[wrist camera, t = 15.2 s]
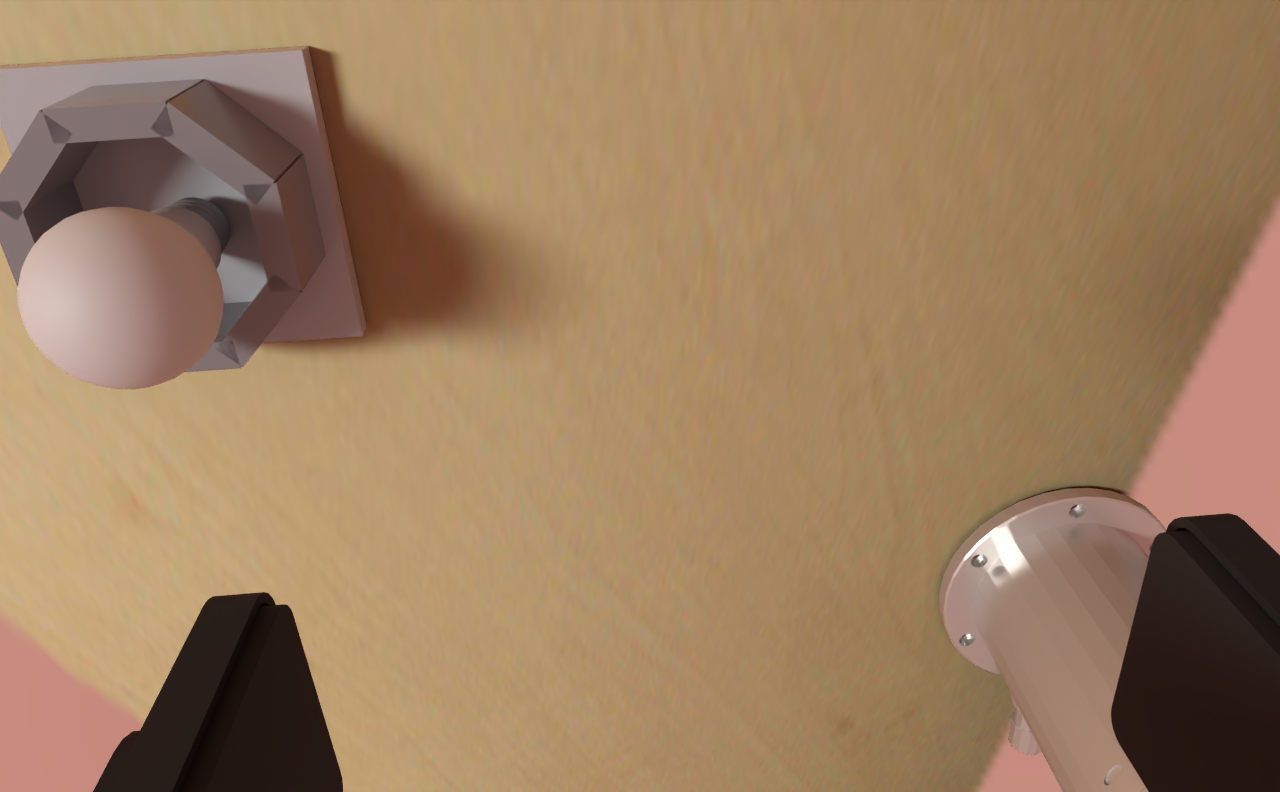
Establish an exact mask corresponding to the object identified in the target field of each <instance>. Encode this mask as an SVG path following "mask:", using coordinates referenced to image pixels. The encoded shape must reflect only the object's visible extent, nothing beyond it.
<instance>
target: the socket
mask: <svg viewBox="0 0 1280 792" xmlns="http://www.w3.org/2000/svg"><path fill="white" fill-rule="evenodd" d="M0 125H1V128H2V131H3V133H4V136H5V139H6V142H7V144H8V147H9V150H10V152H11V155H12V156H11V158H10V159H9V161H8V163H7V164H6V166H5V168H4V169H3V171H2V172H1V174H0V243H1V246H2V248H3V251H4V253H5V256H6V259H7V261H8V264H9V266H10V269H11V271H12V274H13V276H14V279H15V281H16V284H17V287H18V284H19V278H20V273H21V269H22V266H23V264H24V262H25V260H26V257H27V255H28V253H29V252H30V250H31V249H32V247H33V246H34V244H35V243H36V242H37V241H38V240H39V238H40V237H41V236H42V235H43V234H44V233H45V232H46V231H48V230H49V229H51V228H52V227H53V226H55V225H56V224H58V223H59V222H61V221H62V220H63V219H65V218H67V217H70V216H72V215H75V214H77V213H80V212H83V211H88V210H93V209H99V208H104V207H129V208H134V209H139V210H144V211H148V212H151V211H153V210H155V209H158V208H162V207H168V206H169V205H171V204H172V203H174V202H176V201H178V200H180V199H183V198H188V197H196V198H201V199H204V200H206V201H209V202H210V203H212V204H214V205H215V206H216V207H218V208H219V209H220V210H221V212H222V213H223V214H224V215H225V217H226V219H227V221H228V223H229V227H230V238H229V242H228V243H227V245H226V247H225V249H224V251H223V252H222V254H221V260H220V264H219V266H218V268H217V272H218V275H219V278H220V280H221V284H222V289H223V295H224V305H223V315H222V320H221V324H220V327H219V331H218V335H217V336H216V338H215V340H214V342H213V343H212V345H211V347H210V348H209V350H208V351H207V352H206V354H205V355H204V356H203V357H202V358H201V359H200V360H199V361H198V362H197V363H196V364H195V365H194V366H193V367H191V368H190V369H188V370H186V371H185V372H195V371H209V370H222V369H236V368H241V367H243V366H244V365H245V364H246V363H247V361H248V360H249V359H250V358H251V356H252V355H253V354H254V352H255V351H256V350H257V349H258V347H259V346H260V345H261V344H262V343H276V342H290V341H304V340H318V339H332V338H346V337H359V336H363V334H364V332H365V329H366V327H367V326H366V321H365V316H364V311H363V307H362V302H361V297H360V292H359V287H358V282H357V278H356V273H355V268H354V263H353V258H352V254H351V249H350V244H349V239H348V234H347V230H346V225H345V220H344V215H343V210H342V206H341V201H340V196H339V191H338V186H337V181H336V177H335V172H334V167H333V162H332V157H331V153H330V148H329V143H328V138H327V133H326V129H325V124H324V119H323V114H322V109H321V105H320V100H319V95H318V90H317V85H316V81H315V76H314V71H313V66H312V61H311V56H310V52H309V47H308V46H301V47H285V48H269V49H253V50H238V51H222V52H206V53H190V54H175V55H159V56H143V57H127V58H111V59H96V60H80V61H64V62H48V63H32V64H17V65H1V66H0Z"/></svg>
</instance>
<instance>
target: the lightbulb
mask: <svg viewBox="0 0 1280 792" xmlns="http://www.w3.org/2000/svg"><path fill="white" fill-rule="evenodd" d="M229 238H230V227H229V223H228V221H227V219H226V217H225V215H224V214H223V213H222V212H221V210H220V209H219V208H218V207H216V206H215V205H214V204H212V203H210V202H209V201H206V200H204V199H201V198H196V197H188V198H183V199H180V200H178V201H176V202H174V203H172V204H171V205H169V206H168V207H162V208H158V209H155V210H153V211H151V212H148V211H144V210H139V209H134V208H129V207H104V208H99V209H93V210H88V211H83V212H80V213H77V214H75V215H72V216H70V217H67V218H65V219H63V220H62V221H61V222H59V223H58V224H56V225H55V226H53V227H52V228H51V229H49V230H48V231H46V232H45V233H44V234H43V235H42V236H41V237H40V238H39V240H38V241H37V242H36V243H35V244H34V246H33V247H32V249H31V250H30V252H29V253H28V255H27V257H26V260H25V262H24V264H23V266H22V269H21V273H20V278H19V284H18V290H17V295H18V307H19V310H20V314H21V317H22V320H23V323H24V326H25V328H26V330H27V332H28V334H29V336H30V338H31V340H32V341H33V343H34V344H35V345H36V347H37V348H38V349H39V350H40V352H41V353H42V354H43V355H44V356H45V357H46V358H47V359H48V360H49V361H50V362H52V363H53V364H54V365H55V366H57V367H58V368H60V369H61V370H63V371H64V372H65V373H67V374H69V375H71V376H73V377H75V378H77V379H79V380H81V381H84V382H87V383H90V384H93V385H96V386H102V387H108V388H114V389H140V388H146V387H151V386H154V385H158V384H161V383H163V382H166V381H169V380H171V379H174V378H176V377H177V376H179V375H180V374H182V373H183V372H185V371H186V370H188V369H190V368H191V367H193V366H194V365H195V364H196V363H197V362H198V361H199V360H200V359H201V358H202V357H203V356H204V355H205V354H206V352H207V351H208V350H209V348H210V347H211V345H212V343H213V342H214V340H215V338H216V336H217V335H218V331H219V327H220V324H221V320H222V315H223V305H224V295H223V289H222V284H221V280H220V278H219V275H218V272H217V268H218V266H219V264H220V260H221V254H222V252H223V251H224V249H225V247H226V245H227V243H228V242H229Z"/></svg>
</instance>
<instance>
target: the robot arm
mask: <svg viewBox="0 0 1280 792" xmlns="http://www.w3.org/2000/svg"><path fill="white" fill-rule="evenodd" d="M939 611H940V615H941V619H942V623H943V626H944V628H945V630H946V631H947V633H948V636H949V638H950V640H951V642H952V643H953V645H954V646H955V647H956V649H957V650H958V651H959V652H960V654H961V655H962V656H964V657H965V658H966V659H967V660H969V661H970V662H971V663H972V664H974V665H976V666H978V667H980V668H982V669H984V670H986V671H988V672H990V673H994V674H998V675H1001V676H1002V677H1003V679H1004V681H1005V683H1006V685H1007V687H1008V689H1009V691H1010V692H1011V695H1010V697H1011V701H1012V704H1013V705H1014V706H1015V707H1016V708H1015V711H1014V712H1013V716H1012V721H1011V726H1010V732H1009V738H1008V740H1009V742H1010V744H1011V746H1012V747H1013V748H1014V749H1016V750H1017V751H1018V752H1021V753H1023V754H1026V755H1036V754H1038V753H1040V752H1041V751H1042V753H1043V755H1044V757H1045V759H1046V761H1047V762H1048V764H1049V766H1050V768H1051V770H1052V772H1053V774H1054V776H1055V777H1056V780H1057V781H1058V783H1059V785H1060V787H1061V789H1062V791H1063V792H1280V555H1279V554H1278V553H1277V552H1276V551H1275V550H1274V549H1273V548H1272V547H1270V545H1268V544H1267V542H1265V541H1264V540H1263V539H1262V538H1261V537H1260V536H1259V535H1258V534H1257V533H1256V532H1255V531H1254V530H1253V529H1252V528H1251V527H1250V526H1249V525H1248V524H1247V523H1246V522H1245V521H1244V520H1242V519H1241V518H1240V517H1238V516H1236V515H1233V514H1217V515H1206V516H1205V515H1204V516H1192V517H1181V518H1177V519H1174V520H1173V521H1172V522H1171V523H1170V524H1169V525H1168V528H1167V530H1166V529H1165V528H1164V527H1163V525H1162V524H1161V523H1160V521H1159V520H1158V519H1157V518H1156V517H1155V516H1154V515H1153V514H1152V513H1151V512H1150V511H1149V510H1148V509H1147V508H1146V507H1145V506H1143V505H1142V504H1140V503H1138V502H1137V501H1135V500H1134V499H1132V498H1130V497H1128V496H1125V495H1122V494H1119V493H1116V492H1113V491H1110V490H1102V489H1094V488H1071V489H1062V490H1057V491H1052V492H1047V493H1042V494H1040V495H1037V496H1034V497H1031V498H1028V499H1025V500H1022V501H1020V502H1018V503H1016V504H1014V505H1012V506H1010V507H1008V508H1006V509H1004V510H1002V511H1000V512H999V513H997V514H996V515H995V516H993V517H992V518H990V519H989V520H988V521H986V522H985V523H983V524H982V525H981V526H979V527H978V528H977V529H976V530H975V531H974V532H973V533H972V534H971V535H970V536H969V537H968V538H967V539H966V540H965V541H964V542H963V544H962V545H961V546H960V548H959V549H958V550H957V552H956V553H955V554H954V556H953V557H952V559H951V561H950V563H949V565H948V567H947V569H946V571H945V573H944V575H943V579H942V583H941V587H940V591H939ZM93 792H343V783H342V776H341V772H340V769H339V765H338V762H337V759H336V755H335V752H334V749H333V745H332V742H331V739H330V735H329V732H328V729H327V725H326V722H325V719H324V716H323V712H322V709H321V706H320V702H319V699H318V696H317V692H316V689H315V686H314V682H313V679H312V676H311V672H310V669H309V666H308V662H307V659H306V656H305V653H304V649H303V646H302V643H301V639H300V636H299V633H298V629H297V626H296V623H295V619H294V616H293V613H292V611H291V609H290V607H289V606H288V605H275V602H274V600H273V598H272V597H271V596H270V595H269V593H264V592H263V593H250V594H238V595H226V596H214V597H212V598H210V599H208V600H207V602H206V603H205V605H204V606H203V608H202V610H201V612H200V614H199V616H198V618H197V620H196V622H195V624H194V626H193V628H192V630H191V632H190V634H189V636H188V638H187V639H186V641H185V643H184V645H183V647H182V649H181V651H180V653H179V655H178V657H177V659H176V661H175V663H174V665H173V667H172V669H171V671H170V673H169V675H168V677H167V679H166V681H165V683H164V685H163V687H162V689H161V691H160V693H159V695H158V697H157V699H156V701H155V703H154V705H153V707H152V709H151V711H150V713H149V715H148V717H147V718H146V720H145V722H144V724H143V727H142V728H141V730H140V731H133V732H132V733H130V734H129V735H128V736H126V737H125V738H124V739H123V740H122V741H121V742H120V744H119V745H118V747H117V748H116V750H115V751H114V753H113V755H112V757H111V759H110V760H109V762H108V764H107V766H106V768H105V770H104V772H103V774H102V776H101V778H100V779H99V782H98V784H97V785H96V787H95V789H94V791H93Z"/></svg>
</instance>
